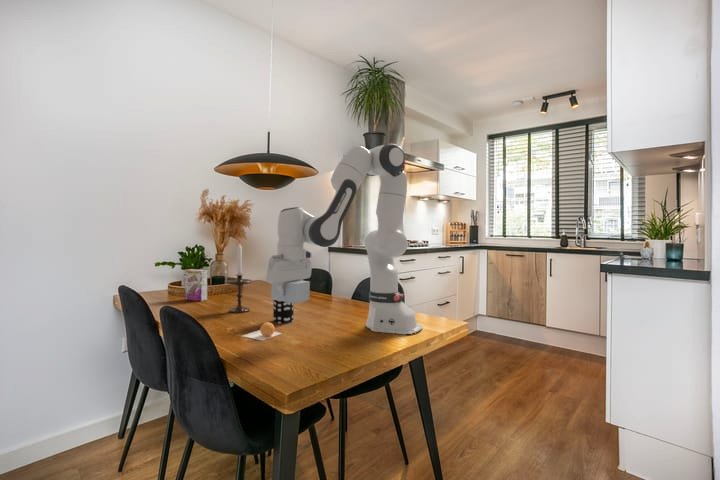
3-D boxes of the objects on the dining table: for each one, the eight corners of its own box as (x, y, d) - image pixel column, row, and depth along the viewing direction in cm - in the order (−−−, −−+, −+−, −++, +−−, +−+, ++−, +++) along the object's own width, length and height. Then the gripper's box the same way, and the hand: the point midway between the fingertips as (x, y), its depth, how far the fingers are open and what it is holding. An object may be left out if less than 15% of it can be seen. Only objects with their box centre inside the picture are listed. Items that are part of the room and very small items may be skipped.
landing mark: (281, 333, 134) (281, 333, 134) (262, 340, 125) (262, 340, 125) (261, 329, 138) (261, 329, 138) (241, 336, 130) (241, 335, 130)
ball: (264, 324, 134) (270, 336, 133) (255, 327, 129) (260, 340, 128) (273, 318, 132) (279, 331, 131) (264, 321, 127) (270, 334, 126)
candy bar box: (184, 300, 195) (184, 269, 194) (191, 298, 199) (191, 269, 199) (201, 301, 191) (201, 270, 191) (207, 300, 196) (207, 269, 196)
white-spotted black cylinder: (288, 324, 148) (289, 275, 147) (269, 322, 149) (270, 274, 149) (296, 319, 156) (296, 273, 155) (278, 318, 157) (278, 272, 157)
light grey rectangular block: (309, 300, 125) (309, 281, 125) (296, 303, 119) (297, 283, 119) (284, 296, 131) (284, 278, 130) (271, 299, 124) (271, 280, 124)
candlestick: (223, 310, 170) (223, 236, 169) (244, 307, 178) (244, 236, 177) (234, 314, 163) (234, 237, 162) (255, 311, 170) (256, 237, 170)
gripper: (277, 256, 114) (276, 299, 114) (314, 253, 132) (314, 290, 132) (262, 255, 117) (261, 297, 117) (300, 252, 135) (300, 289, 135)
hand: (289, 294), depth 125 cm, fingers closed on light grey rectangular block, 7 cm apart
